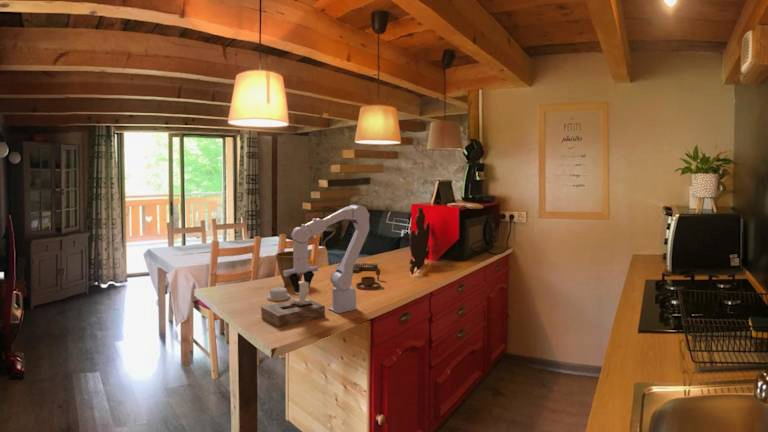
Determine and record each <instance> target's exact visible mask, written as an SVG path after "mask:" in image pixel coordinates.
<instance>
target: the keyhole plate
mask: <svg viewBox="0 0 768 432" xmlns="http://www.w3.org/2000/svg"><path fill="white" fill-rule="evenodd" d="M306 298H307V299H309V300H311V303H309V304H304V305H298V304H295V303H294V300H295V299H293V300H289V301H283V302H279V303H274V304H273V303H272V304H268V305H263V306H261V307H260V311H261V312H260V313H261V319H263V320H265V321H266V322H268V323H270V324H271V325H274V326H276V327H278V328H282V327H286V326H290V325H295V324H299V323H304V322H308V321H312V320H316V319H321V318H325V316H326V308H325V307H326V305H324V304H321V303H319V302H317V301H315V300H312V299H310V298H308V297H306Z"/></svg>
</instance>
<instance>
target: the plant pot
mask: <svg viewBox="0 0 768 432" xmlns="http://www.w3.org/2000/svg"><path fill="white" fill-rule="evenodd" d="M275 257H276V262H277V263H276V264H277V266H278V267H277V269H278V271H279V273H280V276H281V279H282V282H283V284H284V286H285V287H293V285H292V282H291V280H290V278H289V277H288V276H283V271H285V270H289V269H293V268H294V259H293V250H288V251H281V252H278V253H276V254H275ZM297 275H298V276H299V281H302V279H303V273H301V274H297Z"/></svg>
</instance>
